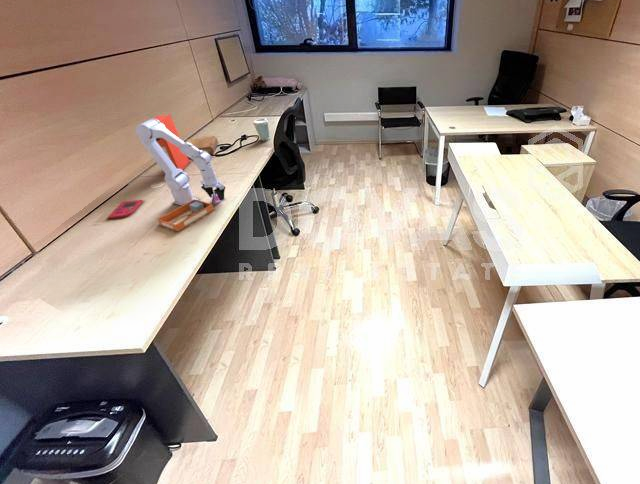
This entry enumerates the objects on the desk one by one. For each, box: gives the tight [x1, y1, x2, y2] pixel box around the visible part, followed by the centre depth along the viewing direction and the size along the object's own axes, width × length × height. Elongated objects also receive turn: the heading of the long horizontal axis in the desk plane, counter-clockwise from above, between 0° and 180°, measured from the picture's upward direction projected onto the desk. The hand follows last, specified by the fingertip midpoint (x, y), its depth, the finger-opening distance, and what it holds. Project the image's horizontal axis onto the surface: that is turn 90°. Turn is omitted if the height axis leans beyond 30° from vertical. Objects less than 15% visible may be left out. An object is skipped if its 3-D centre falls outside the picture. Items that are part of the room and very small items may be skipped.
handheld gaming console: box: [107, 199, 143, 220], centre depth 164 cm, size 10×1×15 cm
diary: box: [186, 135, 219, 156], centre depth 229 cm, size 23×19×6 cm
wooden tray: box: [157, 199, 215, 232], centre depth 157 cm, size 13×20×4 cm, turn 156°
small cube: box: [189, 201, 205, 213], centre depth 161 cm, size 5×4×4 cm
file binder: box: [152, 114, 190, 171], centre depth 197 cm, size 8×17×32 cm, turn 12°
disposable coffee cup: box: [253, 118, 270, 141], centre depth 244 cm, size 11×11×15 cm
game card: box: [211, 187, 222, 207], centre depth 169 cm, size 7×5×9 cm
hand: (217, 198), depth 169 cm, fingers open, 7 cm apart
